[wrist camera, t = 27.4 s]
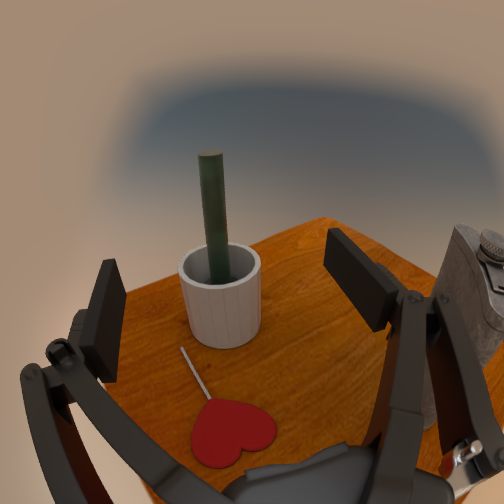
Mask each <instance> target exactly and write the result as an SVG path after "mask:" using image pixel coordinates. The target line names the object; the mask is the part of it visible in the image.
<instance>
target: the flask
mask: <svg viewBox="0 0 504 504" xmlns="http://www.w3.org/2000/svg"><path fill="white" fill-rule="evenodd" d="M503 267H504V236H502V235H501V234H499V233H497V232H495V231H492V230H483V231H482V233H481V235H480V234H479V233H478V232H477V231H476V230H475V229H474V228H472V227H470V226H468V225H466V224H462V223H457V224H455V226H454V230H453V233H452V236H451V239H450V243H449V246H448V249H447V252H446V255H445V258H444V261H443V263H442V266H441V269H440V272H439V275H438V277H437V280H436V282H435V285H434V287H433V290H432V292H431V295H430V297H434V296H435V294H436V292H437V291H438V290H446V291H448V292H450V293H451V294H452V295H453V296H454V297H455V299H456V302H457V304H458V306H459V308H460V311H461V313H462V316H463V318H464V320H465V323H466V325H467V328H468V331H469V333H470V336H471V339H472V341H473V344H474V347H475V350H476V353H477V356H478V359H479V362H480V365H481V368H482V369H483V368H484V367H485V366H486V364H487V363H488V362H489V360H490V359H491V358H492V356H493V355H494V353H495V352H496V351H497V349H498V348H499V346H500V345H501V343H502V342H503V340H504V269H503ZM420 412H421V414H424V427H423V431H425V430H427V429H428V428H430V427H431V426H432V425H433V424H434V423H435V422H436V421H437V413H436V406H435V399H434V393H433V387H432V382H431V376H430V371H429V366H428V361H427V357H426V352H425V369H424V382H423V392H422V401H421V409H420Z"/></svg>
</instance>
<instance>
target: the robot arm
mask: <svg viewBox="0 0 504 504" xmlns="http://www.w3.org/2000/svg"><path fill="white" fill-rule="evenodd" d="M323 265H324V267H325V268H326V269H327V270H328V272H329V273H330V274H331V276H332V277H333V278H334V280H335V281H336V282H337V284H338V285H339V286H340V288H341V289H342V290H343V292H344V293H345V294H346V296H347V297H348V298H349V300H350V301H351V302H352V304H353V305H354V306H355V308H356V309H357V310H358V312H359V313H360V314H361V316H362V317H363V319H364V320H365V321H366V323H367V324H368V325H369V327H370V328H371V330H372V331H373V332H374V333H375V332H378V331H380V330H383V329H385V327H386V325H387V322H388V321H389V323H390V324H391V325H392V326H391V328H390V331H389V333H388V335H387V338H386V340H388V345H387V351H386V356H385V362H384V367H383V372H382V377H381V381H380V386H379V390H378V394H377V399H376V403H375V407H374V411H373V414H372V418H371V422H370V425H369V429H368V432H367V434H366V437H365V439H364V441H363V443H362V445H361V446H360V445H347V443H346V441H344V442H342V443H339V444H336V445H333V446H331V447H328V448H325V449H322V450H321V451H319V452H318V453H316V454H314V455H313V456H311V457H309V458H308V459H306V460H304V461H303V462H301V463H295V464H270V465H266V466H262V467H257V468H252V469H248V470H244V471H245V475H243V476H240V477H238V478H237V479H235V480H234V481H232V482H231V483H230V484H228V485H227V486H226V487H225V488H224V490H223V491H222V492H221V493H220V492H219V491H217V490H216V489H214V488H213V487H212V486H210V485H209V484H207V483H206V482H205V481H203V480H202V479H200V478H199V477H198V476H196V475H195V474H194V473H193V472H191V471H190V470H189V469H187V468H186V467H185V466H183V465H182V464H180V463H179V462H177V461H176V460H175V459H174V458H173V457H171V456H170V455H169V454H168V453H167V452H166V451H165V450H163V449H162V448H161V447H160V446H159V445H158V444H157V443H156V442H155V441H153V440H152V439H151V438H150V437H149V436H148V435H147V434H146V433H145V432H144V431H143V430H142V429H141V428H140V427H139V426H138V425H137V424H136V423H135V422H134V421H133V420H132V419H131V418H130V417H129V416H128V415H127V414H126V413H125V412H124V411H123V410H122V409H121V408H120V406H119V405H118V404H117V403H116V402H115V401H114V400H113V399H112V398H111V396H110V395H109V394H108V393H107V392H106V391H105V390H104V388H103V387H102V386H101V385H100V384H99V382H98V381H97V378H99V379H100V380H101V382H102V383H115V382H116V381H117V368H118V357H119V348H120V339H121V331H122V323H123V316H124V309H125V303H126V296H127V294H126V292H125V289H124V286H123V283H122V280H121V277H120V273H119V270H118V267H117V264H116V261H115V259H108V260H103V262H102V265H101V268H100V271H99V274H98V277H97V280H96V283H95V286H94V290H93V293H92V296H91V299H90V303H89V306H88V309H81V310H79V311H78V312H77V313H76V315H75V316H74V318H73V322H72V326H71V328H70V332H69V336H68V339H67V340H66V339H63V338H59V339H56V340H54V341H52V342H51V343H50V344H49V345H48V347H47V348H46V353H45V354H46V357H47V359H48V360H49V361H50V363H51V364H52V365H51V366H48V367H45V368H42V369H41V368H40V366H39V365H38V364H36V363H31V364H28V365H27V366H25V367H24V368H23V370H22V371H21V374H20V381H21V388H22V394H23V400H24V405H25V410H26V415H27V419H28V424H29V428H30V432H31V435H32V439H33V443H34V446H35V450H36V453H37V456H38V459H39V463H40V466H41V468H42V471H43V474H44V477H45V480H46V482H47V485H48V487H49V490H50V492H51V495H52V497H53V499H54V501H55V504H114V503H113V502H112V500H111V499H110V496H109V495H108V493H107V491H106V490H105V488H104V486H103V484H102V482H101V480H100V478H99V476H98V474H97V472H96V470H95V468H94V466H93V464H92V462H91V460H90V458H89V456H88V453H87V451H86V449H85V447H84V445H83V442H82V440H81V437H80V435H79V432H78V430H77V427H76V425H75V422H74V419H73V417H72V414H71V411H70V408H69V405H68V404H71V403H74V402H77V403H78V405H79V406H80V408H81V409H82V410H83V412H84V413H85V415H86V416H87V417H88V419H89V420H90V421H91V422H92V424H93V425H94V426H95V427H96V429H97V430H98V431H99V433H100V434H101V435H102V436H103V437H104V439H105V440H106V441H107V442H108V443H109V444H110V446H111V447H112V448H113V449H114V450H115V451H116V452H117V454H118V455H119V456H120V457H121V458H122V459H123V460H124V461H125V462H126V463H127V464H128V465H129V466H130V467H131V468H132V469H133V470H134V471H135V472H136V473H137V474H138V475H139V476H140V477H141V478H142V479H143V480H144V481H145V482H146V483H147V484H148V485H149V486H150V487H151V488H152V490H153V491H154V492H155V493H156V494H157V495H158V496H159V497H160V498H161V499H162V500H163V501H165V502H166V503H167V504H455V500H456V499H458V498H459V497H461V496H462V495H464V494H465V493H467V492H468V491H469V490H471V489H472V488H474V487H475V486H476V485H478V484H480V483H482V482H484V481H486V480H487V479H489V478H491V477H493V476H494V475H496V474H498V473H499V472H501V471H502V470H504V434H503V432H502V430H501V428H500V426H499V424H498V422H497V421H496V419H495V417H494V413H493V409H492V404H491V400H490V396H489V392H488V389H487V385H486V381H485V378H484V374H483V371H482V368H481V365H480V362H479V359H478V356H477V353H476V350H475V347H474V344H473V341H472V339H471V336H470V333H469V331H468V328H467V325H466V323H465V320H464V318H463V316H462V313H461V311H460V308H459V306H458V304H457V302H456V299H455V297H454V296H453V295H452V294H451V293H450V292H448V291H446V290H438V291H437V292H436V294H435V296H434V297H424V296H423V295H422V294H421V293H420V292H417V291H415V290H408V289H407V288H406V287H405V286H404V285H403V284H402V283H401V282H400V281H399V280H398V279H397V278H396V277H394V275H393V274H392V273H390V271H389V270H388V269H387V268H386V267H385V266H383V265H382V264H380V263H378V262H377V263H374V262H373V261H372V260H371V259H370V258H369V257H368V256H367V255H366V254H365V253H364V252H363V251H362V250H361V249H360V248H359V247H358V246H357V245H356V244H355V243H354V242H353V241H352V240H351V239H349V238H348V237H347V236H346V235H345V234H344V233H343V232H342V231H341V230H340V229H339V228H332V229H328V233H327V241H326V249H325V256H324V263H323ZM388 338H389V339H388ZM425 352H426V357H427V361H428V366H429V371H430V376H431V382H432V387H433V393H434V399H435V406H436V413H437V421H438V430H439V439H440V446H441V450H442V454H443V458H442V460H441V464H440V466H439V468H438V471H439V473H440V474H441V477H440V476H437V475H434V474H431V473H429V472H426V471H423V470H421V469H418V468H416V464H417V459H418V454H419V449H420V444H421V439H422V433H423V427H424V414H421V412H420V409H421V401H422V392H423V382H424V369H425Z"/></svg>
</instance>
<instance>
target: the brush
mask: <svg viewBox="0 0 504 504" xmlns="http://www.w3.org/2000/svg"><path fill="white" fill-rule="evenodd" d="M198 163H199V173H200V185H201V196H202V207H203V215H204V225H205V235H206V244H207V252H208V261H209V269H210V277H211V278H210V279H208V280H206V281H205V282H204V283H203V284H207V285H224V284H228V283H233V282H236V281H238V280H239V279H237V278H235V277H233V276H231V274H230V261H229V248H228V234H227V220H226V205H225V188H224V171H223V155H222V152H221V151H206V152H201V153H199V154H198Z"/></svg>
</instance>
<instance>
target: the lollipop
mask: <svg viewBox="0 0 504 504" xmlns="http://www.w3.org/2000/svg"><path fill="white" fill-rule="evenodd" d="M180 349H181V351H182V353H183V355H184V357H185V358H186V360H187V362H188V364H189V366H190V368H191V370H192V372H193V373H194V375H195V377H196V379H197V381H198V382H199V384H200V386H201V388H202V389H203V391H204V393H205V395H206V396H207V398H208V402H207V403H206V405H205V406H204V408H203V409H202V411H201V412H200V414H199V416H198V418H197V420H196V422H195V425H194V428H193V430H192V435H191V449H192V452H193V454H194V456H195V457H196V459H197V460H198V461H199V462H200V463H202V464H203V465H205V466H207V467H211V468H225V467H228V466H230V465H232V464H233V463H235V462H236V461H237V460H238V459H239V457H240V455H241V451H242V449H243V450H246V451H259V450H262V449H264V448H266V447H268V446H269V445H270V444H271V443H272V442H273V441H274V439H275V437H276V433H277V426H276V423H275V421H274V419H273V418H272V417H271V416H270V415H269V414H268V413H267V412H265V411H264V410H262V409H260V408H258V407H256V406H253V405H250V404H246V403H242V402H238V401H232V400H224V399H213V398H211V396H210V395H209V393H208V391H207V390H206V388H205V386H204V384H203V383H202V381H201V379H200V377H199V376H198V374H197V372H196V370H195V369H194V367H193V365H192V363H191V361H190V359H189V358H188V356H187V354H186V352H185V350H184V348H183V347H180Z"/></svg>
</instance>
